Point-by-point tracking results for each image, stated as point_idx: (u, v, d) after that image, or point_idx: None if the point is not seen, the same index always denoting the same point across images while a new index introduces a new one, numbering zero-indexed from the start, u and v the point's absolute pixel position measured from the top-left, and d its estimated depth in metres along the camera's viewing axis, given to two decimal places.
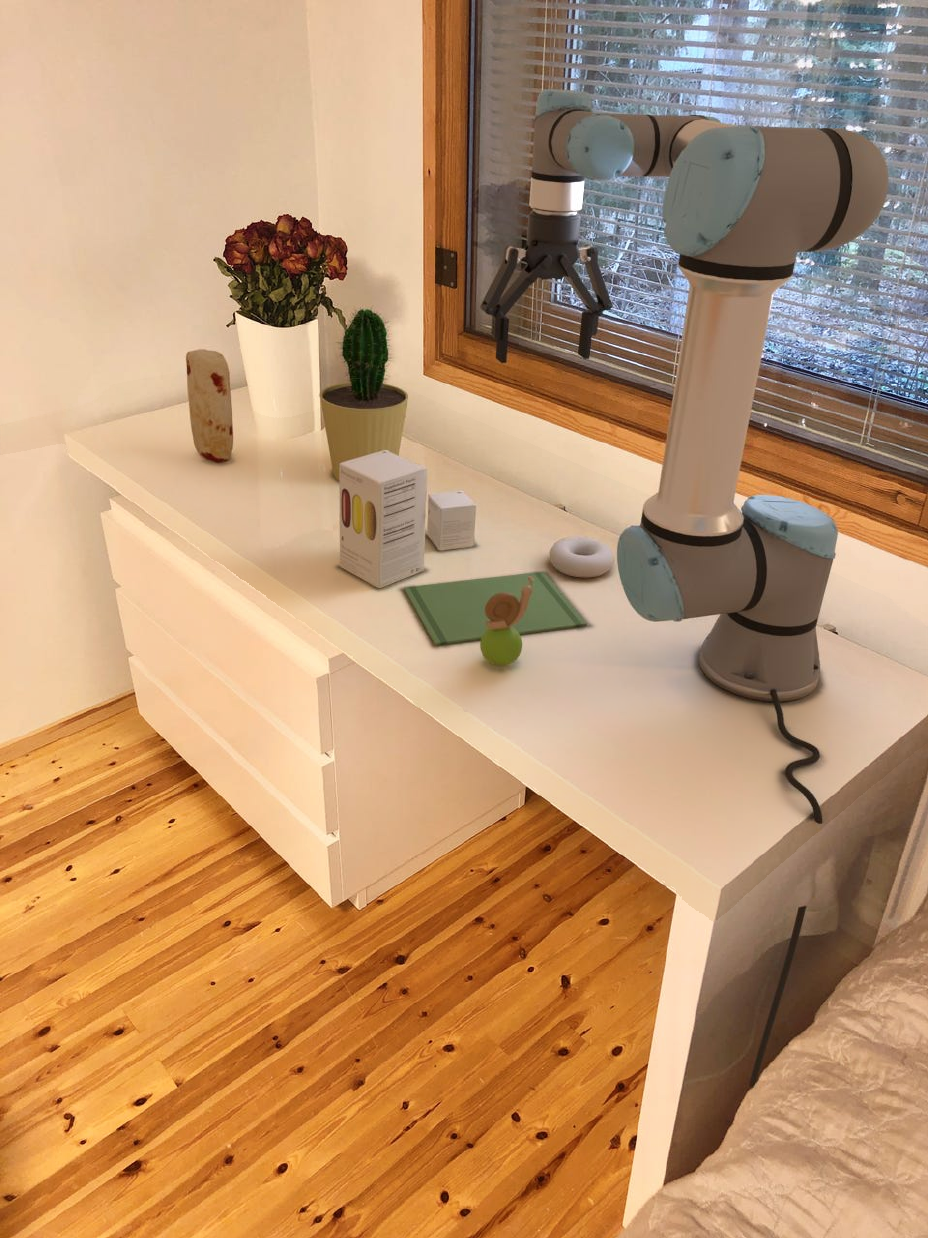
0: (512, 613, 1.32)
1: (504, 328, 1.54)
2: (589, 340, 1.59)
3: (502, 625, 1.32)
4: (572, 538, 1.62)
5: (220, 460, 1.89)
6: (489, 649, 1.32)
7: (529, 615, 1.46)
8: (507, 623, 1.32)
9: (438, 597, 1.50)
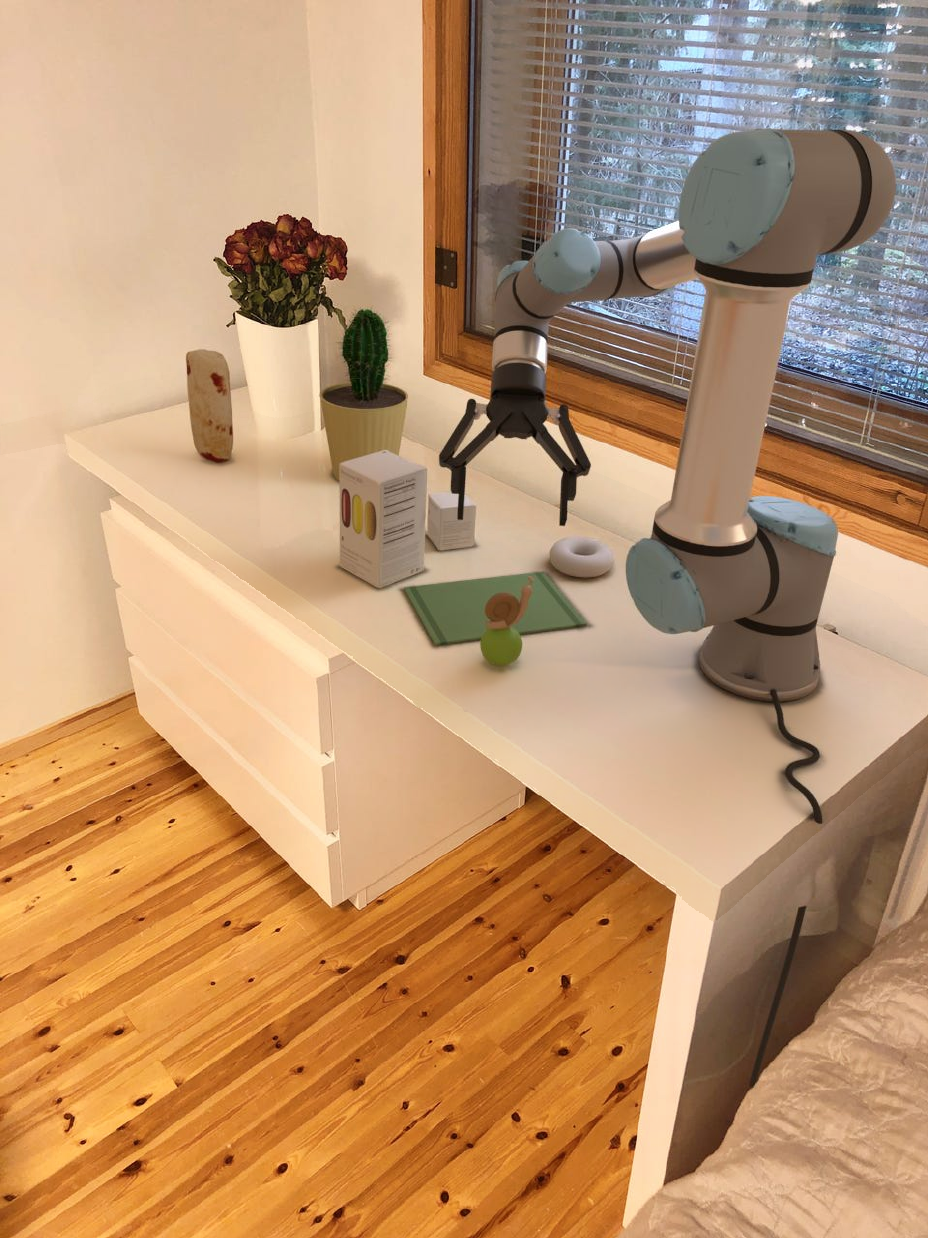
0: (512, 613, 1.32)
1: (460, 476, 1.38)
2: (565, 498, 1.37)
3: (502, 625, 1.32)
4: (572, 538, 1.62)
5: (220, 460, 1.89)
6: (489, 649, 1.32)
7: (529, 615, 1.46)
8: (507, 623, 1.32)
9: (438, 597, 1.50)
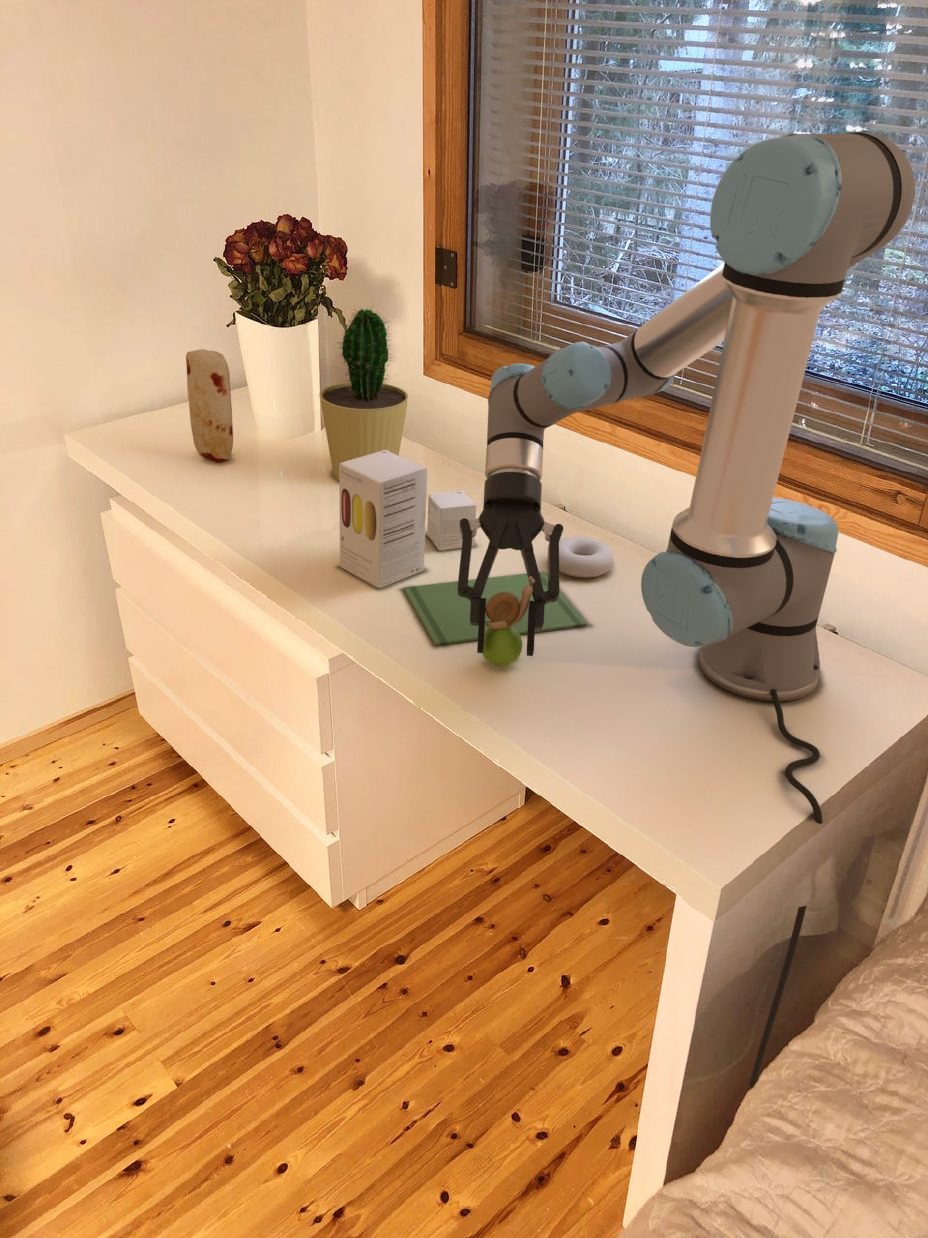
0: (513, 613, 1.32)
1: (480, 608, 1.31)
2: (532, 629, 1.30)
3: (502, 625, 1.32)
4: (572, 538, 1.62)
5: (220, 460, 1.89)
6: (489, 649, 1.32)
7: None
8: (507, 623, 1.32)
9: (438, 597, 1.50)
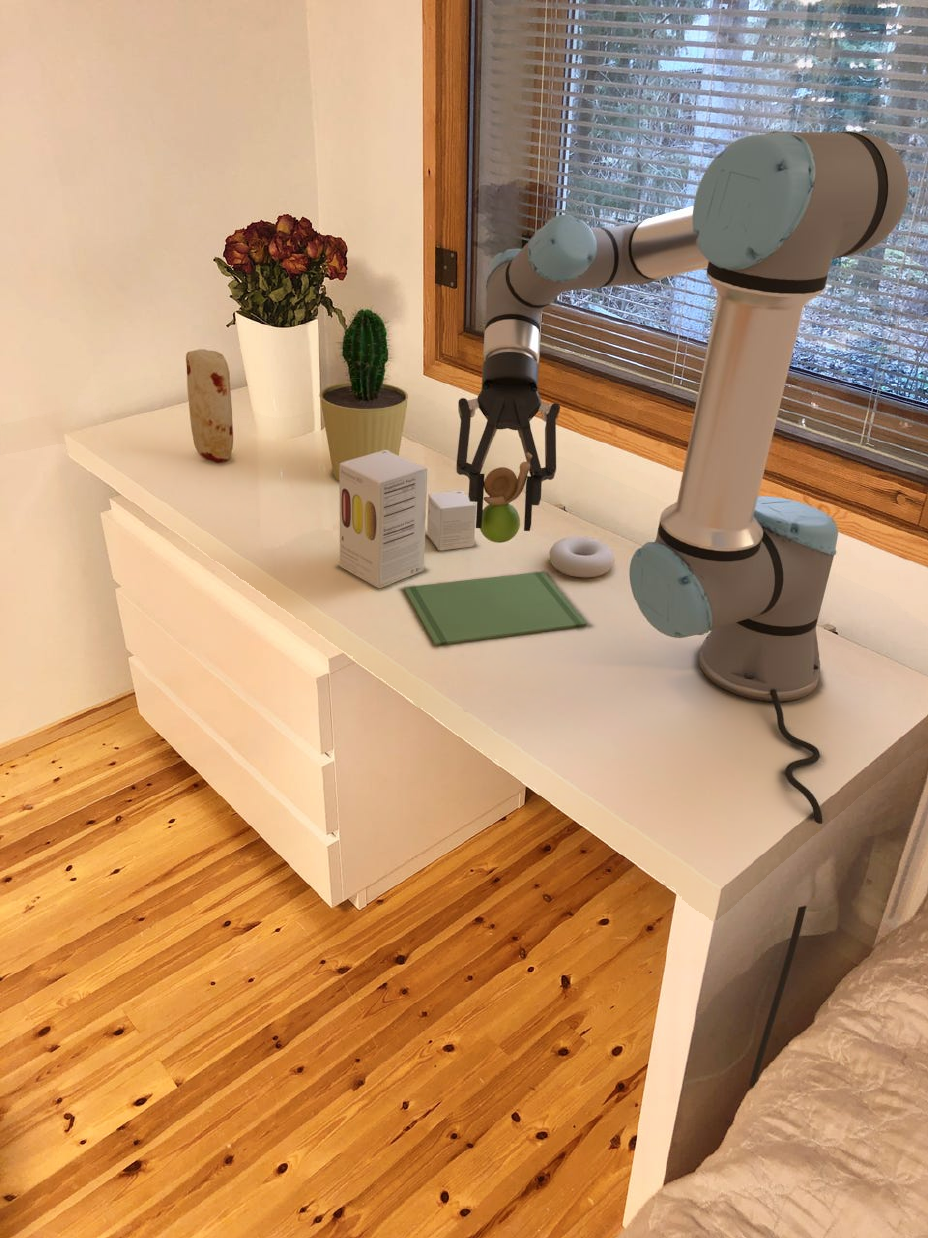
0: (510, 489, 1.35)
1: (479, 483, 1.34)
2: (529, 503, 1.33)
3: (500, 501, 1.35)
4: (572, 538, 1.62)
5: (220, 460, 1.89)
6: (487, 525, 1.35)
7: (529, 615, 1.46)
8: (505, 499, 1.35)
9: (438, 597, 1.50)
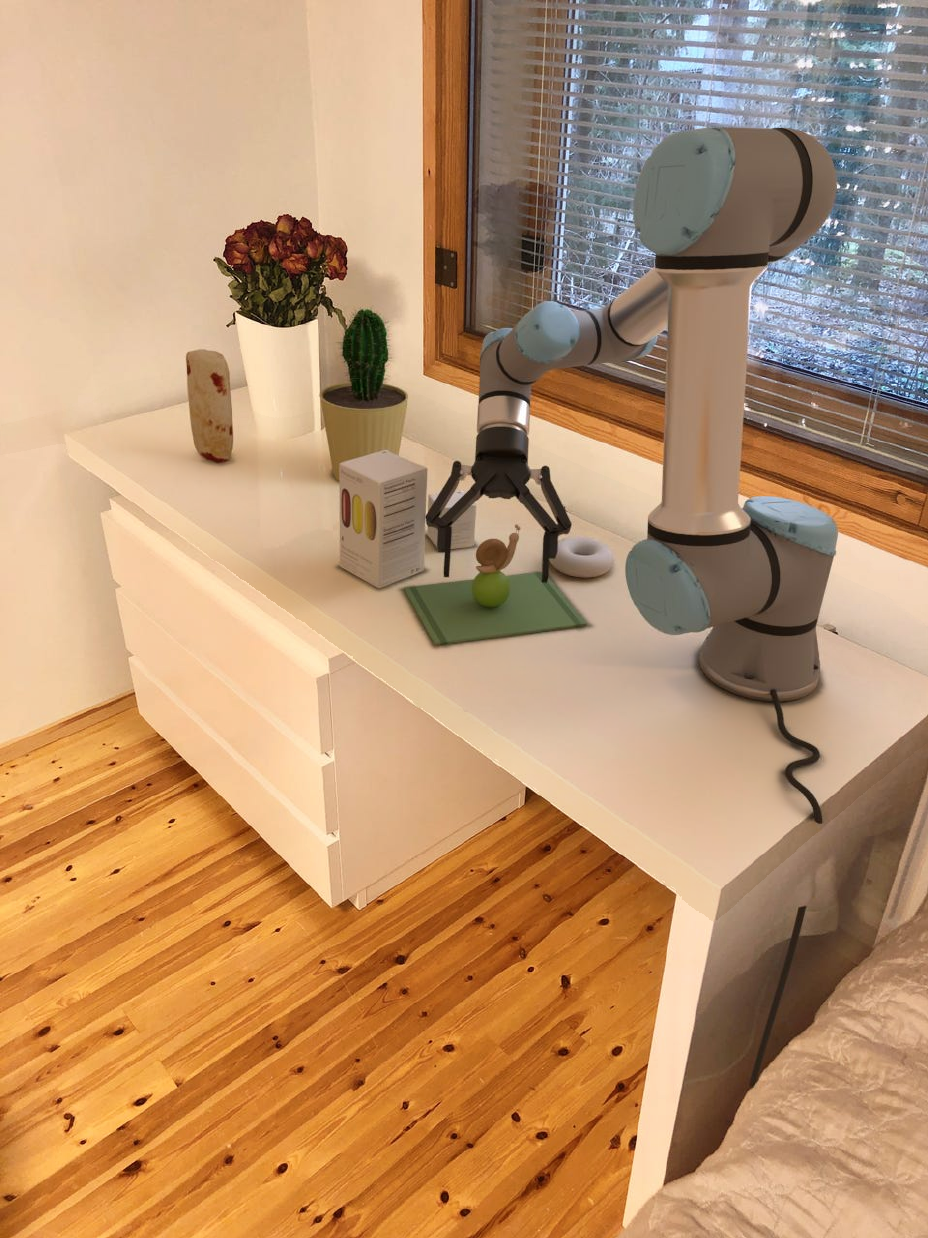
0: (501, 558, 1.44)
1: (446, 535, 1.44)
2: (547, 557, 1.43)
3: (491, 569, 1.45)
4: (572, 538, 1.62)
5: (220, 460, 1.89)
6: (479, 592, 1.45)
7: (529, 615, 1.46)
8: (496, 567, 1.45)
9: (438, 597, 1.50)
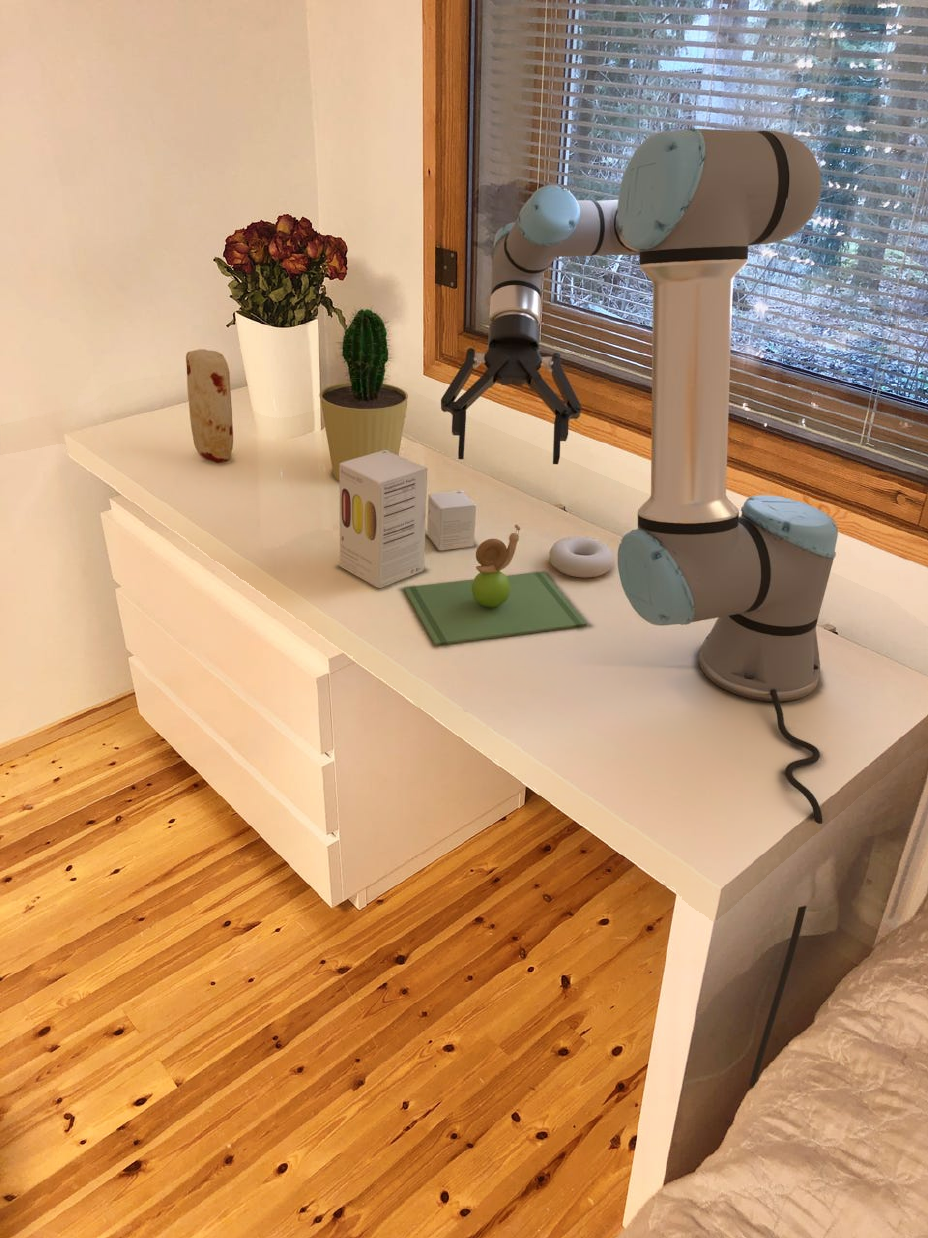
0: (501, 558, 1.44)
1: (461, 418, 1.49)
2: (558, 438, 1.48)
3: (491, 569, 1.45)
4: (572, 538, 1.62)
5: (220, 460, 1.89)
6: (479, 592, 1.45)
7: (529, 615, 1.46)
8: (496, 567, 1.45)
9: (438, 597, 1.50)
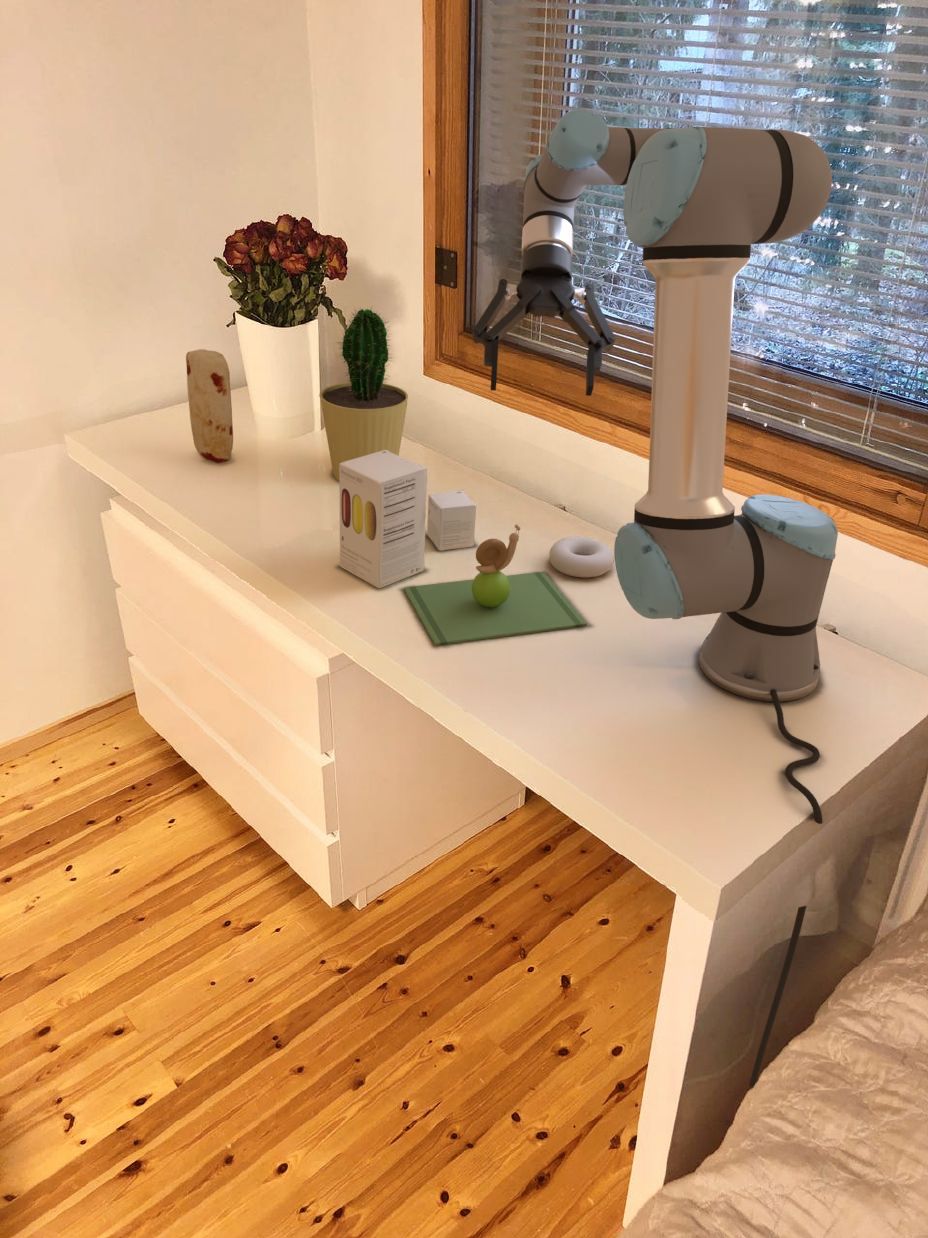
0: (501, 558, 1.44)
1: (493, 348, 1.47)
2: (591, 368, 1.46)
3: (491, 569, 1.45)
4: (572, 538, 1.62)
5: (220, 460, 1.89)
6: (479, 592, 1.45)
7: (529, 615, 1.46)
8: (496, 567, 1.45)
9: (438, 597, 1.50)
